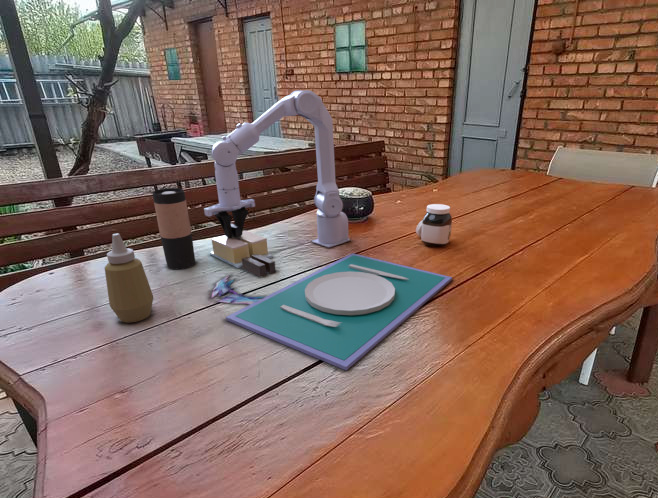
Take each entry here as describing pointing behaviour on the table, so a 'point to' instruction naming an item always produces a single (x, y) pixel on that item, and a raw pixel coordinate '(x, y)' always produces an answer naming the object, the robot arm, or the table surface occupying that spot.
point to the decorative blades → (223, 289)
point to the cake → (239, 248)
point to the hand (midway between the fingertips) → (234, 235)
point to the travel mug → (174, 227)
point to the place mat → (341, 307)
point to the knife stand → (258, 265)
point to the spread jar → (435, 226)
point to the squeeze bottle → (127, 283)
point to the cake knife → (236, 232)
